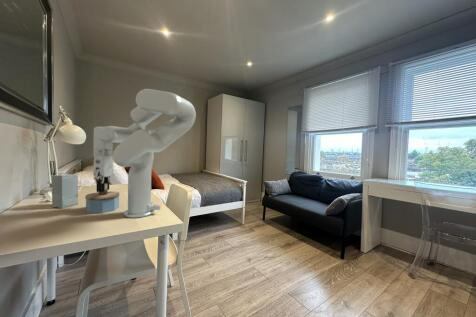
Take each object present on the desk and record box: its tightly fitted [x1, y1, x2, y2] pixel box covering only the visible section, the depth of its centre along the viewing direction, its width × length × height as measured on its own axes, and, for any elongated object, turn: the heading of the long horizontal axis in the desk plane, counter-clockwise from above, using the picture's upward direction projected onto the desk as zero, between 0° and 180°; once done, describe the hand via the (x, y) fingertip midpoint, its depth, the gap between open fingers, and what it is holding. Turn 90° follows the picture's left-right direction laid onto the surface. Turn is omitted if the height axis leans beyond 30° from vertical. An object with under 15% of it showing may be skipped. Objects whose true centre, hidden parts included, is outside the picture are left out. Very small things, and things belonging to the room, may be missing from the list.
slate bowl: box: [85, 195, 120, 214], centre depth 96 cm, size 12×12×6 cm
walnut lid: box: [85, 184, 120, 200], centre depth 96 cm, size 14×14×6 cm
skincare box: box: [51, 173, 79, 209], centre depth 100 cm, size 8×7×16 cm
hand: (103, 190), depth 96 cm, fingers open, 4 cm apart
